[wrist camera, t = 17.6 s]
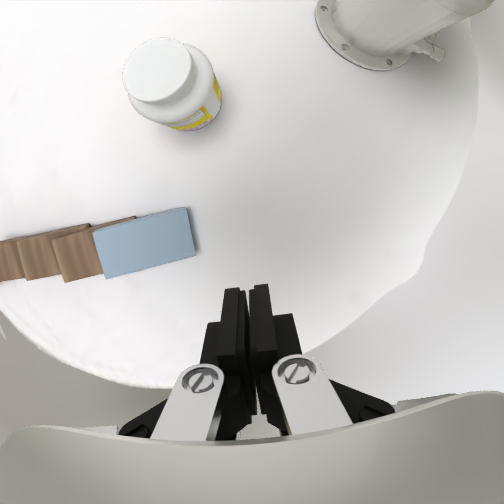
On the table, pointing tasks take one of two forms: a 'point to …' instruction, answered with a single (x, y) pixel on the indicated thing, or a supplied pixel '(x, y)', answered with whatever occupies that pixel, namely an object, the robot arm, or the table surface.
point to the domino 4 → (144, 242)
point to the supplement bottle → (172, 84)
